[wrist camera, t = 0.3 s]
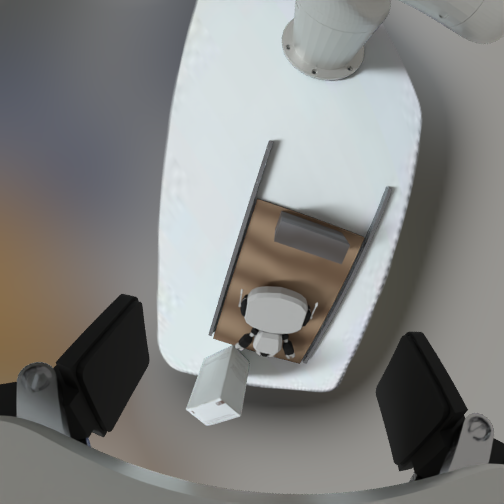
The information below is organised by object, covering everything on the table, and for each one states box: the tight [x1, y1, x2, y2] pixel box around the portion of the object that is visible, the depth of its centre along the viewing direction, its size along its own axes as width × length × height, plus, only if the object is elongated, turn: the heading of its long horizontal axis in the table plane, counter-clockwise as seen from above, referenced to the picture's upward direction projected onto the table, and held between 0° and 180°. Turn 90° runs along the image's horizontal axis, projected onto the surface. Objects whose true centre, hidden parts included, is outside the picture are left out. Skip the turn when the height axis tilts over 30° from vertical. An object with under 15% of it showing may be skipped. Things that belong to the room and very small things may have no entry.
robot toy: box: [235, 286, 318, 359], centre depth 46 cm, size 12×4×15 cm
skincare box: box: [186, 345, 250, 426], centre depth 47 cm, size 8×6×15 cm
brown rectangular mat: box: [213, 199, 364, 364], centre depth 44 cm, size 28×18×6 cm, turn 163°
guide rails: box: [209, 141, 392, 363], centre depth 44 cm, size 36×20×1 cm, turn 162°
